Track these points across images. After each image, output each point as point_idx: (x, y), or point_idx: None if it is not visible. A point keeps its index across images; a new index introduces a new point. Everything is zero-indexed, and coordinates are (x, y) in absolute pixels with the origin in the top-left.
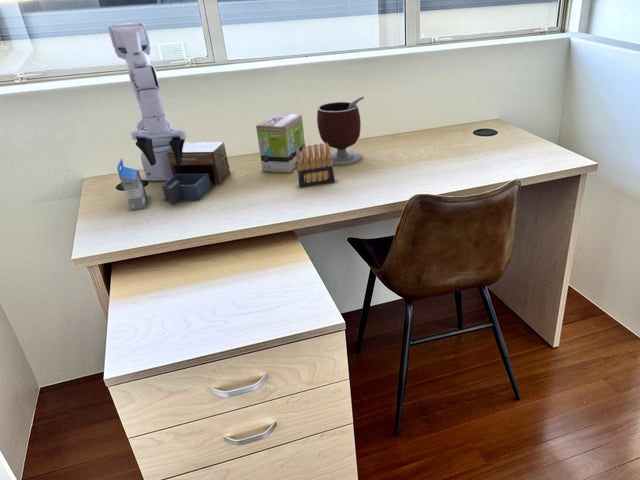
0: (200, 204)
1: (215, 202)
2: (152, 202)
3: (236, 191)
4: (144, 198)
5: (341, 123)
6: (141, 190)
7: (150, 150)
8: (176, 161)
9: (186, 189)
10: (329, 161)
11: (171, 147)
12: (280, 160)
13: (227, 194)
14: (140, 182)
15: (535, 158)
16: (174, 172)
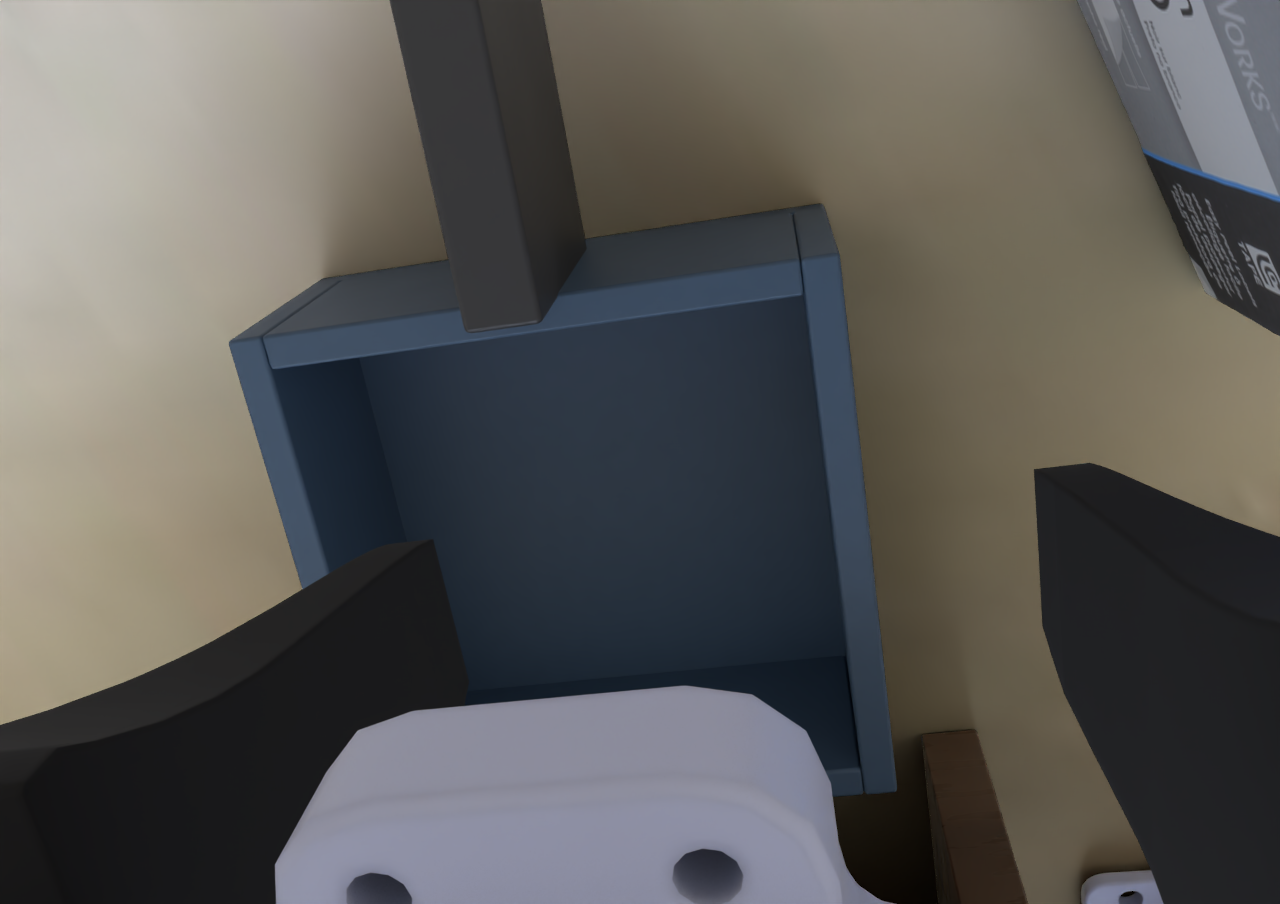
0: (215, 146)
1: (57, 245)
2: (1010, 112)
3: (42, 619)
4: (1111, 32)
5: None
6: (1158, 10)
7: (1166, 770)
8: (377, 560)
9: (419, 300)
10: None
11: (173, 714)
12: None
13: (86, 520)
14: (1263, 168)
15: None
16: (976, 863)
